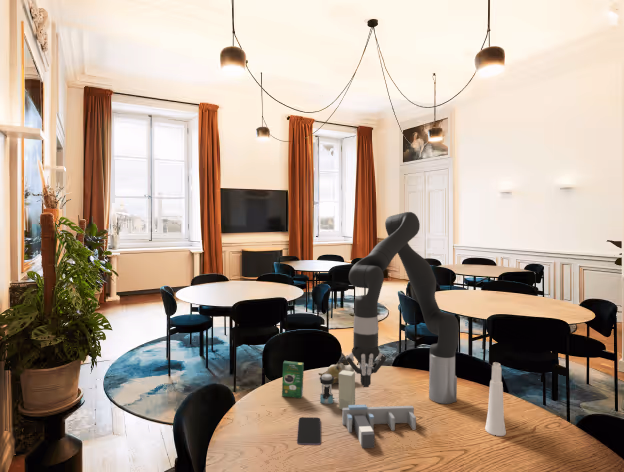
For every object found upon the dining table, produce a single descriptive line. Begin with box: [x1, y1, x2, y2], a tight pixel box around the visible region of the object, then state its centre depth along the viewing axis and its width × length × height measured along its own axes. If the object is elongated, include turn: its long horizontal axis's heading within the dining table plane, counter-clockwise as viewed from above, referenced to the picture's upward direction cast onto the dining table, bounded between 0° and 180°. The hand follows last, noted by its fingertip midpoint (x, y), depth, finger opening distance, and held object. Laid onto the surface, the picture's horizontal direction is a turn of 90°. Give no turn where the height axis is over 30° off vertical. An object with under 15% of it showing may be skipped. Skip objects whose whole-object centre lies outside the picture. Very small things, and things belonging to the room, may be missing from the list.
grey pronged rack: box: [341, 404, 417, 433], centre depth 122 cm, size 24×6×6 cm, turn 96°
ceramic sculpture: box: [318, 361, 355, 384], centre depth 159 cm, size 11×9×15 cm
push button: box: [319, 374, 338, 404], centre depth 139 cm, size 7×5×10 cm
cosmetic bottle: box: [484, 361, 507, 437], centre depth 120 cm, size 6×6×22 cm
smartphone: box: [296, 416, 322, 446], centre depth 119 cm, size 7×1×15 cm
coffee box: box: [281, 360, 305, 399], centre depth 144 cm, size 8×3×13 cm, turn 79°
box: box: [338, 370, 356, 410], centre depth 135 cm, size 5×4×13 cm
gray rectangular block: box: [353, 415, 376, 449], centre depth 116 cm, size 12×4×4 cm, turn 6°
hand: (365, 386), depth 115 cm, fingers closed
